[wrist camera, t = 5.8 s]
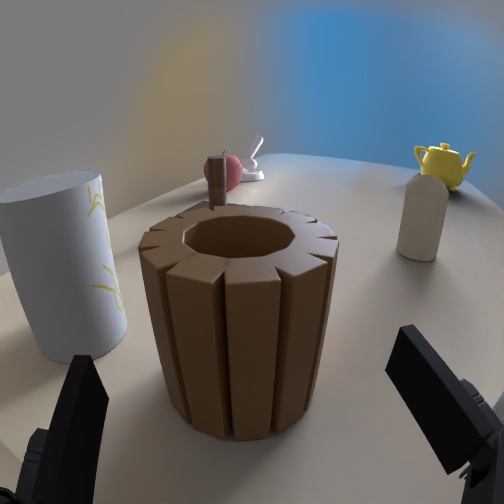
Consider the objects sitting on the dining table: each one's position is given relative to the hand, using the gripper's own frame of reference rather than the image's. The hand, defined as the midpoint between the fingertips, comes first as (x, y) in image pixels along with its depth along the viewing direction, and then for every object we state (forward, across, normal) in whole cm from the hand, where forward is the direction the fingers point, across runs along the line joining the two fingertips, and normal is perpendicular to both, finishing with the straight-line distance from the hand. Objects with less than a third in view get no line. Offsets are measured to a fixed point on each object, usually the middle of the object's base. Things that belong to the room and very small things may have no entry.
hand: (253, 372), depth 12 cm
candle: (+21, +24, -6) cm, 32 cm away
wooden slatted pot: (+5, 0, -6) cm, 8 cm away
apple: (+53, +2, -6) cm, 53 cm away
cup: (+11, -12, -6) cm, 18 cm away
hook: (+64, +9, -6) cm, 65 cm away
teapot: (+60, +64, -6) cm, 88 cm away
